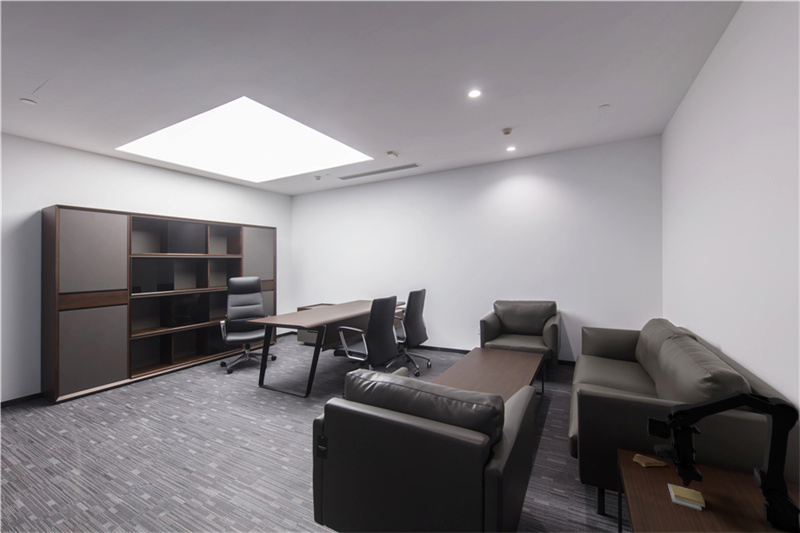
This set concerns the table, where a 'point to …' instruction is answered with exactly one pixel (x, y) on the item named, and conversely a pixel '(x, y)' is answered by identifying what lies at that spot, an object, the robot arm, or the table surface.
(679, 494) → the card
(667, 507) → the table surface
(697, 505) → the mat
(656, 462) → the shard
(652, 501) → the table surface
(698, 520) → the table surface
